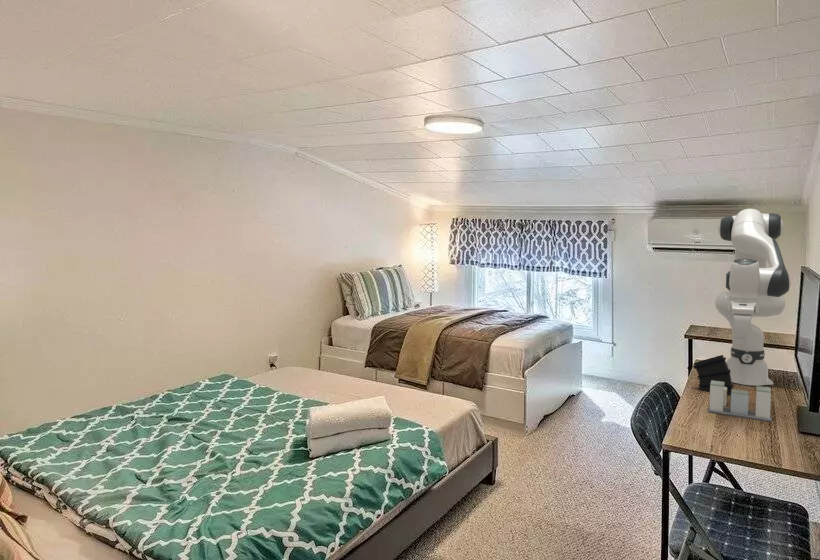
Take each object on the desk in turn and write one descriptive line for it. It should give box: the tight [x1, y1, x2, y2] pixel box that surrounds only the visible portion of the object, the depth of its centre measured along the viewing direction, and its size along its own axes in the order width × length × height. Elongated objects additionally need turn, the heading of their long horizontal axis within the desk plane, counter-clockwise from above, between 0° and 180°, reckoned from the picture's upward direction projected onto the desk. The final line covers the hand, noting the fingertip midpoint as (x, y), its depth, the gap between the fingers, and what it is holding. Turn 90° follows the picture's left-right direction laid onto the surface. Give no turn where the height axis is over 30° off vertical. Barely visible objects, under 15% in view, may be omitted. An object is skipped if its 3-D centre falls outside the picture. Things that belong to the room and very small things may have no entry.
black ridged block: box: [693, 354, 734, 396], centre depth 204 cm, size 4×13×15 cm, turn 49°
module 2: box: [730, 388, 750, 415], centre depth 178 cm, size 5×4×8 cm
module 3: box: [755, 385, 772, 419], centre depth 174 cm, size 4×5×10 cm
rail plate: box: [707, 404, 773, 423], centre depth 178 cm, size 18×7×1 cm, turn 56°
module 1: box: [708, 380, 725, 411], centre depth 181 cm, size 4×5×10 cm
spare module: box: [724, 387, 728, 407], centre depth 190 cm, size 5×4×6 cm
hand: (741, 346), depth 176 cm, fingers open, 8 cm apart
